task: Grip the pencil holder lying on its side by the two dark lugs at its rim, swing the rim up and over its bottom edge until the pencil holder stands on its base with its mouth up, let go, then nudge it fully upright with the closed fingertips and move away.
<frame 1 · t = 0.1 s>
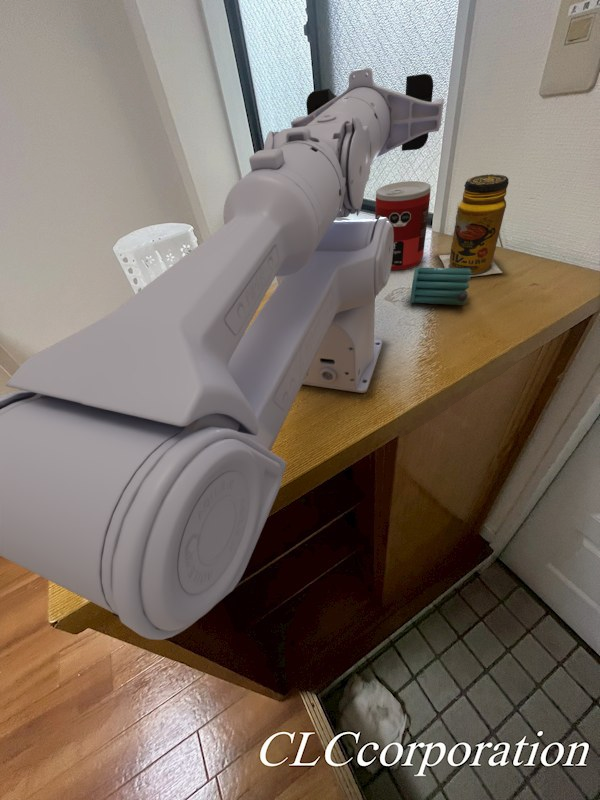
hand: (380, 104, 38), 22 cm above the cabinet, tool horizontal, fingers open, 7 cm apart
pencil holder: (440, 286, 46), point 2 cm above the cabinet, hinge at 0.0°
condiment: (468, 266, 54), on the cabinet
canned food: (398, 262, 59), on the cabinet
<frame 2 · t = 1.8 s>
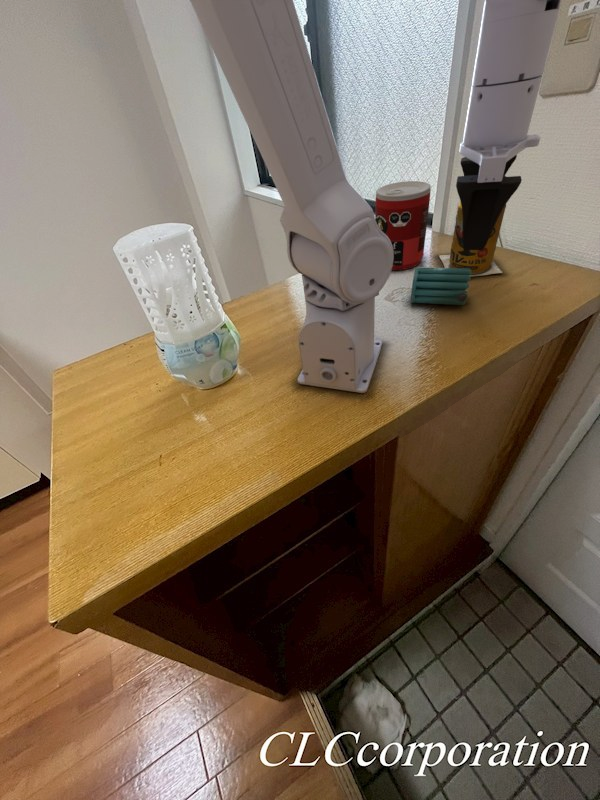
hand: (473, 235, 41), 9 cm above the cabinet, tool pointing down, fingers open, 7 cm apart
nothing on the cabinet moved.
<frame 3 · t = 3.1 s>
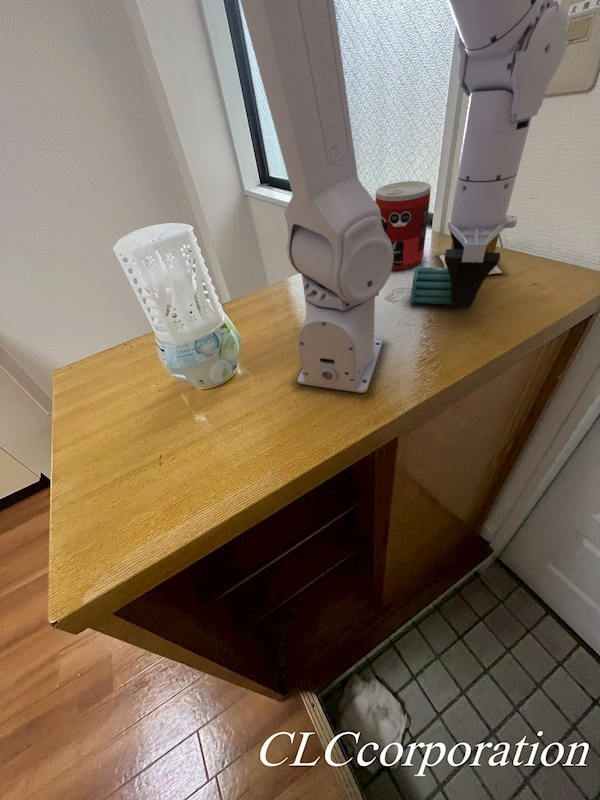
hand: (461, 293, 46), 1 cm above the cabinet, tool pointing down, fingers closed on pencil holder, 6 cm apart
pencil holder: (440, 286, 46), point 2 cm above the cabinet, hinge at 0.0°, touching gripper
everything else where it was.
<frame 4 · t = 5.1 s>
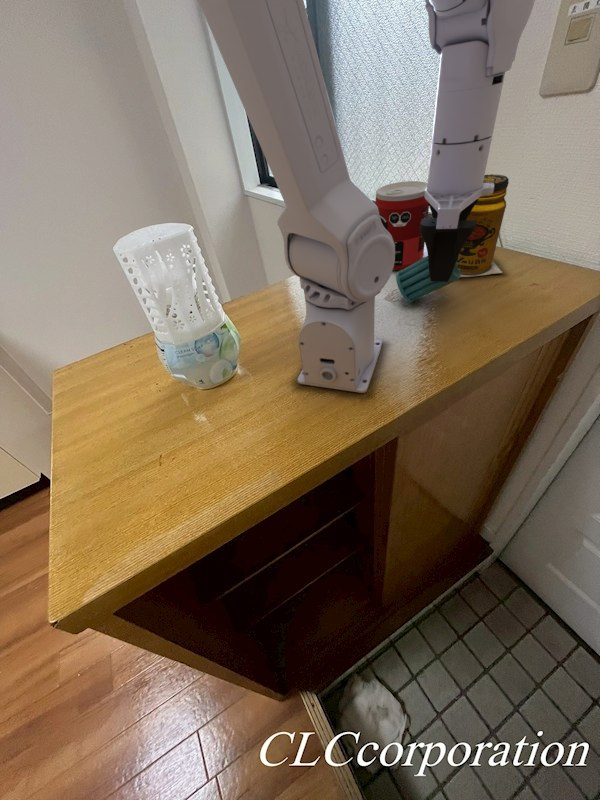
hand: (441, 268, 44), 5 cm above the cabinet, tool pointing down, fingers closed on pencil holder, 6 cm apart
pencil holder: (427, 275, 46), point 4 cm above the cabinet, hinge at 32.3°, touching gripper
everything else where it was.
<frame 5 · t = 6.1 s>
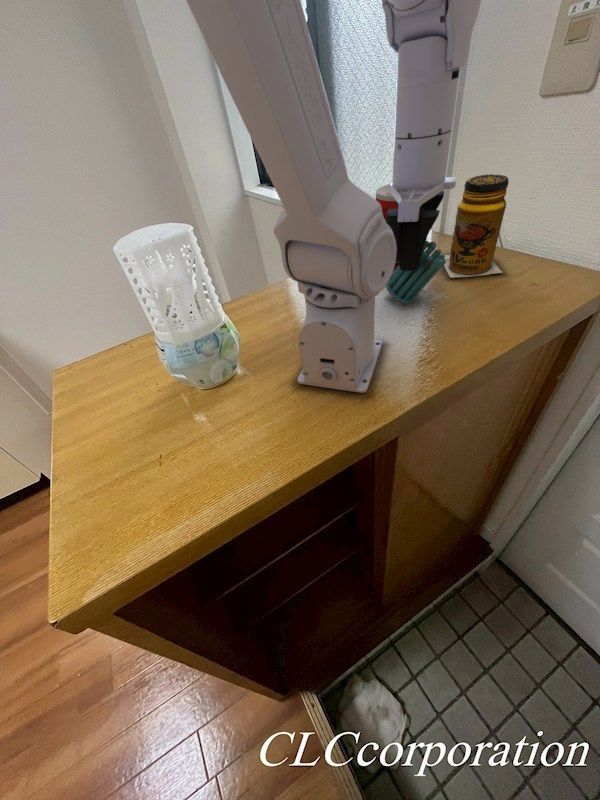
hand: (411, 261, 45), 6 cm above the cabinet, tool pointing down, fingers closed on pencil holder, 4 cm apart
pencil holder: (414, 272, 46), point 4 cm above the cabinet, hinge at 56.3°, touching gripper
everything else where it was.
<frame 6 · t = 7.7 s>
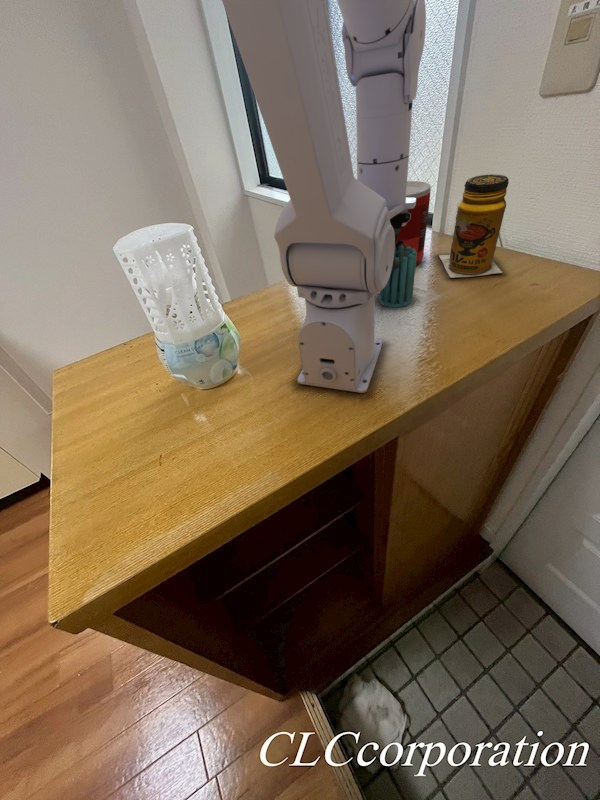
hand: (379, 274, 48), 4 cm above the cabinet, tool pointing down, fingers closed on pencil holder, 4 cm apart
pencil holder: (397, 276, 47), point 3 cm above the cabinet, hinge at 89.7°, touching gripper
everything else where it was.
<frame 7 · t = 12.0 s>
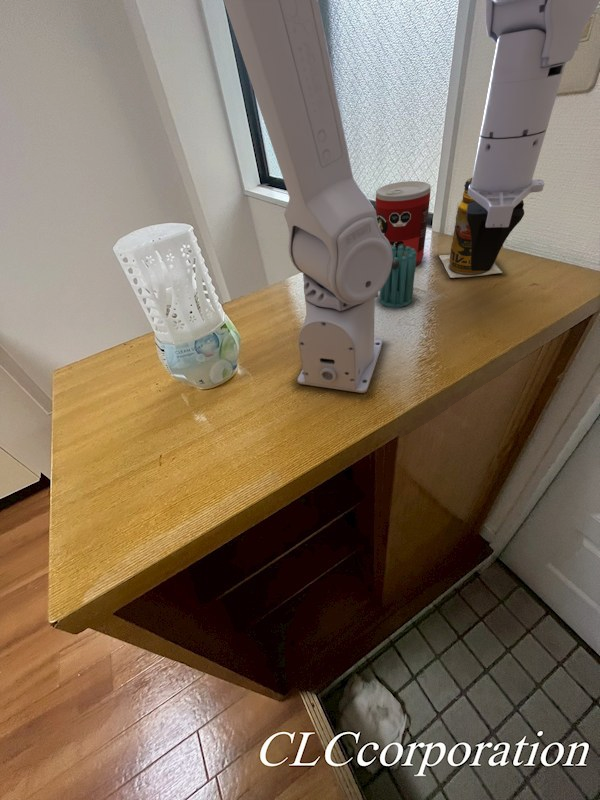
hand: (480, 268, 43), 5 cm above the cabinet, tool pointing down, fingers closed
pencil holder: (397, 276, 47), point 3 cm above the cabinet, hinge at 90.0°
everything else where it was.
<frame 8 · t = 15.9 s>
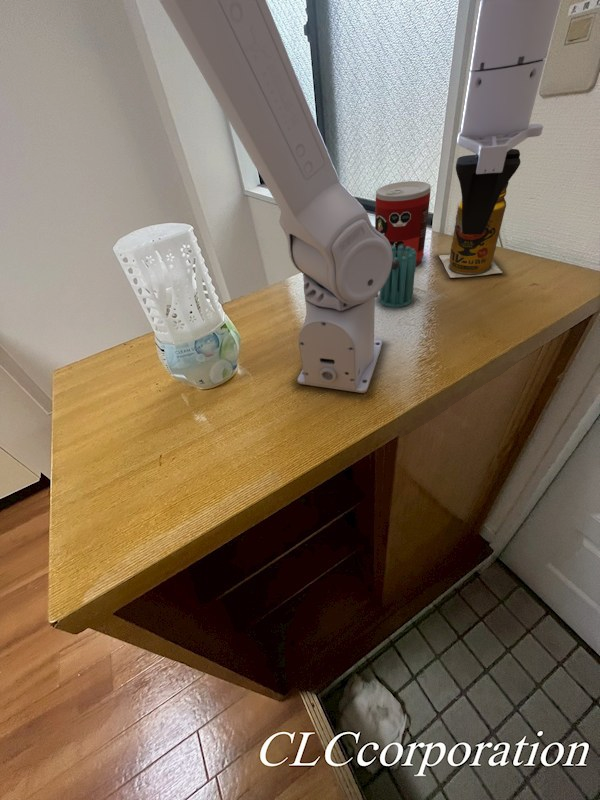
hand: (472, 232, 39), 10 cm above the cabinet, tool pointing down, fingers closed
nothing on the cabinet moved.
at the end: pencil holder at +90° (first picture: +0°); the gripper is holding nothing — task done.
